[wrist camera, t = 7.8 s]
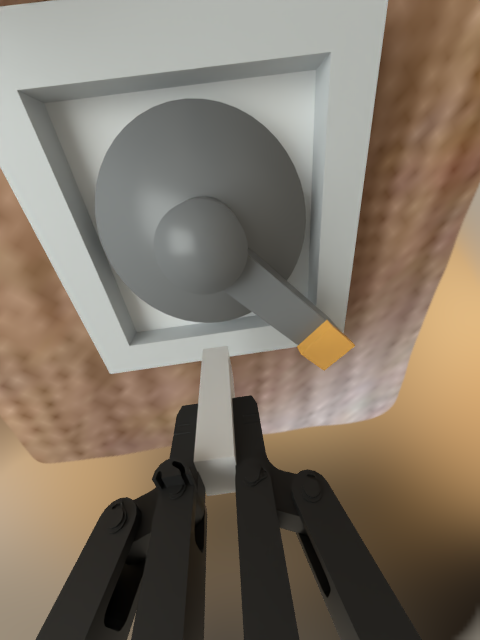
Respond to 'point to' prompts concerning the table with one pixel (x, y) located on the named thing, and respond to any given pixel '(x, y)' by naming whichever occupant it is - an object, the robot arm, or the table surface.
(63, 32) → the dial panel
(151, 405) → the table surface
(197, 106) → the dial
